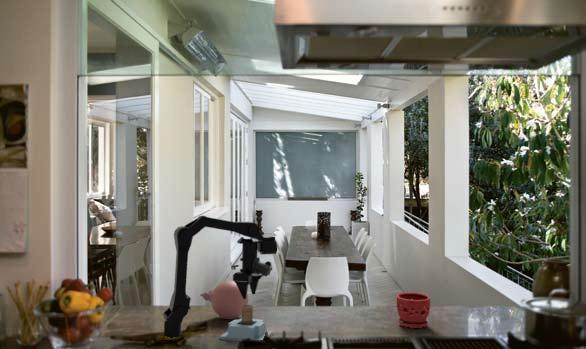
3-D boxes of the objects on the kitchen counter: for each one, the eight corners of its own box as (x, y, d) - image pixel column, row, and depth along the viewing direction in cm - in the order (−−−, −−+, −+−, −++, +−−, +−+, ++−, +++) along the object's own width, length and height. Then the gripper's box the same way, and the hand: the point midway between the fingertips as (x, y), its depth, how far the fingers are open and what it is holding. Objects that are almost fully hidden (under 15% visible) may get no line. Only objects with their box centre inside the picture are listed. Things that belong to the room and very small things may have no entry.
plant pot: (389, 324, 204) (389, 294, 205) (415, 320, 210) (415, 291, 211) (411, 332, 193) (411, 300, 193) (437, 328, 199) (437, 297, 199)
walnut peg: (249, 335, 182) (250, 307, 182) (239, 334, 183) (240, 306, 183) (253, 332, 186) (254, 305, 186) (243, 331, 187) (244, 304, 187)
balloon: (204, 313, 219) (205, 277, 220) (250, 314, 218) (251, 278, 218) (195, 322, 204) (196, 283, 204) (244, 323, 202) (245, 284, 203)
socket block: (261, 343, 176) (261, 328, 176) (219, 339, 181) (219, 325, 181) (272, 334, 188) (273, 320, 188) (233, 330, 192) (233, 317, 192)
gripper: (261, 259, 181) (260, 303, 181) (277, 253, 199) (277, 293, 199) (232, 257, 184) (231, 301, 184) (251, 252, 202) (250, 291, 202)
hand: (249, 296), depth 192 cm, fingers open, 9 cm apart
